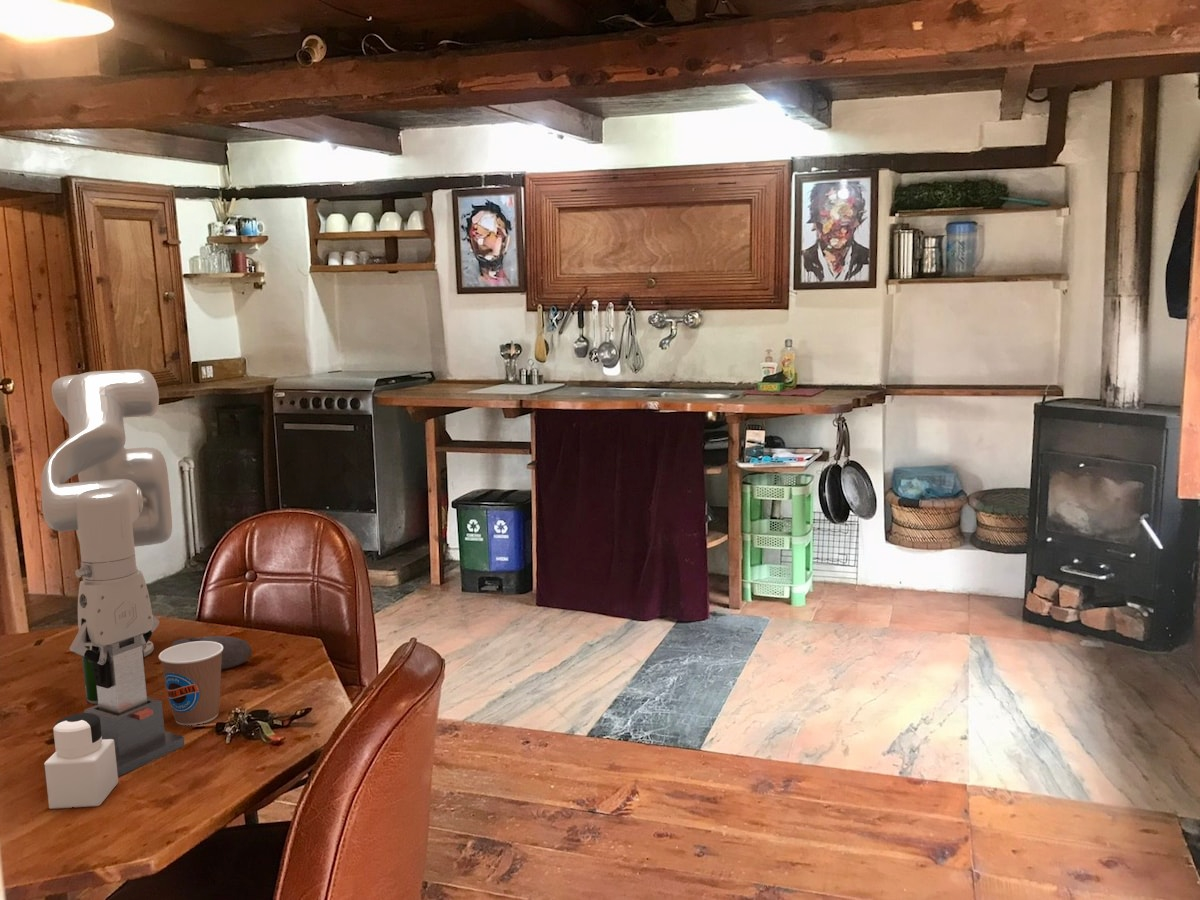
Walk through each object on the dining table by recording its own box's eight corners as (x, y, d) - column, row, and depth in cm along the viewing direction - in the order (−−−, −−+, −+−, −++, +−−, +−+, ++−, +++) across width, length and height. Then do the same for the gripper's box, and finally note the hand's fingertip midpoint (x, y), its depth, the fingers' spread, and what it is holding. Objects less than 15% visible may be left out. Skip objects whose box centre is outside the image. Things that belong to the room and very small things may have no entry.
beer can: (88, 707, 179) (81, 642, 178) (84, 697, 184) (78, 634, 182) (121, 700, 182) (115, 636, 180) (117, 690, 187) (110, 628, 185)
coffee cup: (151, 725, 171) (144, 658, 169) (194, 702, 181) (188, 638, 179) (199, 733, 168) (193, 664, 166) (241, 709, 177) (236, 644, 175)
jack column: (100, 729, 159) (90, 637, 157) (129, 716, 164) (120, 627, 161) (120, 735, 157) (111, 642, 154) (150, 723, 161) (141, 632, 159)
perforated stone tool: (252, 660, 202) (249, 626, 200) (253, 668, 197) (251, 634, 196) (170, 672, 196) (167, 637, 195) (170, 681, 191) (167, 646, 190)
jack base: (69, 760, 159) (64, 712, 158) (137, 731, 169) (132, 685, 168) (117, 777, 153) (112, 727, 152) (184, 745, 163) (180, 698, 162)
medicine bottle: (69, 785, 150) (61, 709, 149) (119, 783, 151) (111, 706, 149) (48, 809, 143) (39, 730, 142) (100, 806, 144) (91, 727, 142)
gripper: (72, 585, 147) (84, 704, 150) (172, 558, 162) (182, 666, 164) (41, 579, 151) (54, 694, 154) (142, 552, 165) (152, 658, 168)
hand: (120, 678), depth 159 cm, fingers closed on jack column, 5 cm apart
